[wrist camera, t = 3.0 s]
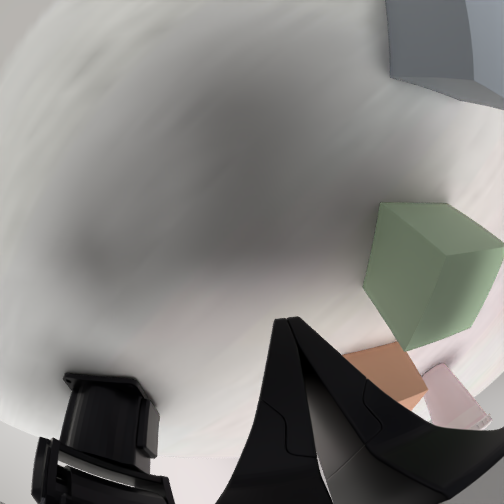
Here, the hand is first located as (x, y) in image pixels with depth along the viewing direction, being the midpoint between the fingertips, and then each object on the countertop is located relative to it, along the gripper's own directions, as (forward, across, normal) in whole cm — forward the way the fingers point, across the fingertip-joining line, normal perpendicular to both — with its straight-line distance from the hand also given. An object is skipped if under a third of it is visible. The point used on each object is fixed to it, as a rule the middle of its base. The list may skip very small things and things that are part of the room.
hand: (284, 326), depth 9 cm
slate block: (+4, -8, -11) cm, 14 cm away
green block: (+4, -8, 0) cm, 9 cm away
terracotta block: (+4, -8, +11) cm, 14 cm away
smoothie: (+4, -19, +17) cm, 26 cm away
